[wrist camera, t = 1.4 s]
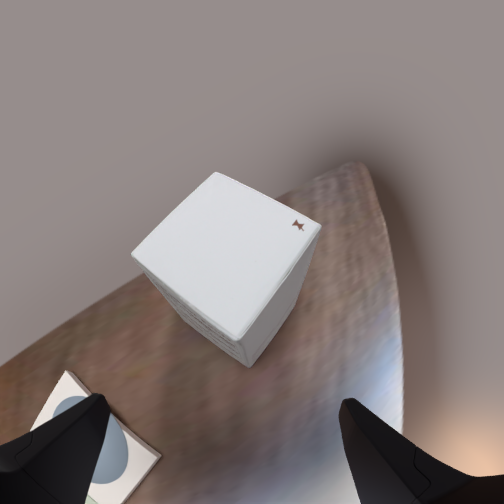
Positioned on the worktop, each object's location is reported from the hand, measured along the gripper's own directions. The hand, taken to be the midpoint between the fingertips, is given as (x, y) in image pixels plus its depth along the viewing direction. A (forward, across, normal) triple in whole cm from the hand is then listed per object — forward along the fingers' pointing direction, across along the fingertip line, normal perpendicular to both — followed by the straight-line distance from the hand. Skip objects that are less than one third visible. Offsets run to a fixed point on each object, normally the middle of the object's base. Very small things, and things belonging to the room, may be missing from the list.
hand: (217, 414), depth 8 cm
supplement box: (+16, 0, +4) cm, 16 cm away
